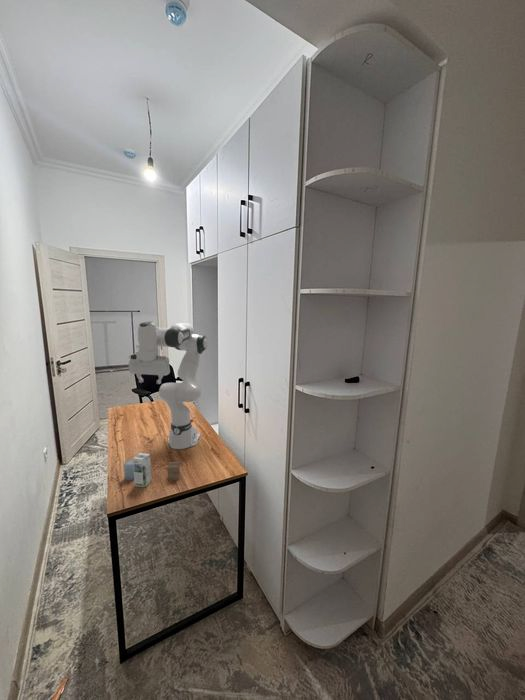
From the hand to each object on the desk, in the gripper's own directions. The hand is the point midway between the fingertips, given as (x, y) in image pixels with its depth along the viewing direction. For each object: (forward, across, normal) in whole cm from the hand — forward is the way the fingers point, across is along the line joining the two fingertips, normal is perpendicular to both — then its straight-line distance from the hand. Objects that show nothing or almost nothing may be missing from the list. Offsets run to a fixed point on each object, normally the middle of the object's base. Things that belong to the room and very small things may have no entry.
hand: (150, 383), depth 142 cm
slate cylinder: (+48, +9, +7) cm, 49 cm away
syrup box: (+48, 0, +10) cm, 49 cm away
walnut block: (+48, -12, +2) cm, 49 cm away
